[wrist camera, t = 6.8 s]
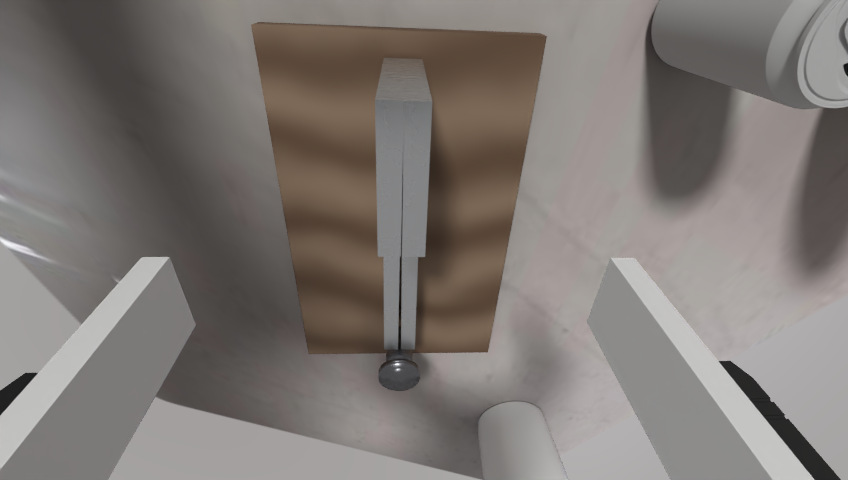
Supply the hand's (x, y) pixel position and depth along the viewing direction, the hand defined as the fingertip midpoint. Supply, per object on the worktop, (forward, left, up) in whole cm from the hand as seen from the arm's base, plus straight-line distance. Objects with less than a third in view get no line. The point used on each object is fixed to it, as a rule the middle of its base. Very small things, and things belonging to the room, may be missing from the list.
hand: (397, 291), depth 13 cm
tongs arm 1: (+8, -1, -18) cm, 19 cm away
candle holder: (+38, +14, -20) cm, 45 cm away
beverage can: (-7, +19, -20) cm, 28 cm away
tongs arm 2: (+8, +1, -18) cm, 19 cm away
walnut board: (+9, 0, -20) cm, 22 cm away
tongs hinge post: (+21, 0, -18) cm, 28 cm away
